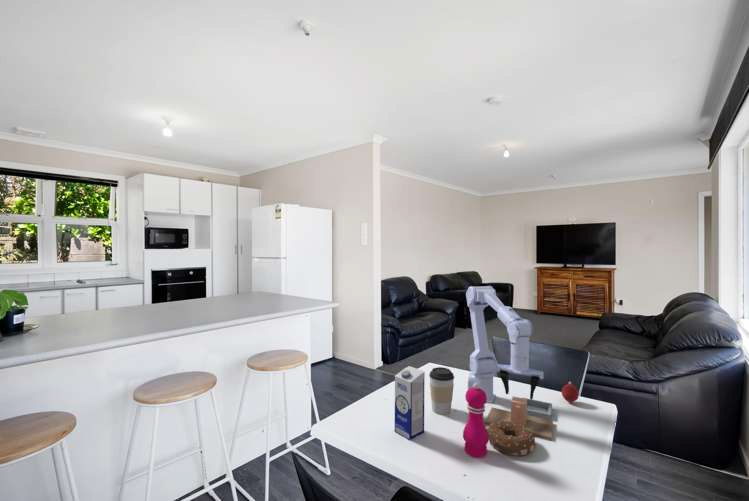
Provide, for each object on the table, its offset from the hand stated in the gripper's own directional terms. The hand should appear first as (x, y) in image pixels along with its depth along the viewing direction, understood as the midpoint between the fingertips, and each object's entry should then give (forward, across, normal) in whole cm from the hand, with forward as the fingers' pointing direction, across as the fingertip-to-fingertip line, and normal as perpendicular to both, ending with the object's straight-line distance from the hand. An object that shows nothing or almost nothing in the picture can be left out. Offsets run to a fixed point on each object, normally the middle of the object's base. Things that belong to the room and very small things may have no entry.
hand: (519, 395), depth 118 cm
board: (+9, 0, -1) cm, 9 cm away
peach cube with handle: (+8, 0, 0) cm, 8 cm away
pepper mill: (+10, -9, -24) cm, 28 cm away
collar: (+9, +4, +13) cm, 16 cm away
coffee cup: (+10, -26, -4) cm, 28 cm away
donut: (+10, -1, -16) cm, 19 cm away
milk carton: (+10, -30, -24) cm, 40 cm away
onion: (+10, +15, +27) cm, 32 cm away
